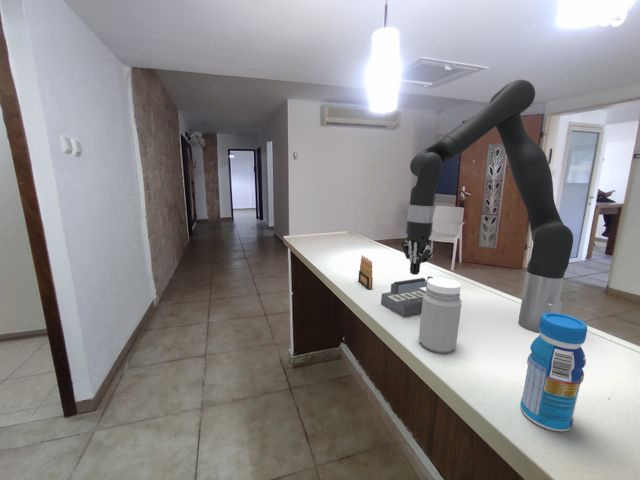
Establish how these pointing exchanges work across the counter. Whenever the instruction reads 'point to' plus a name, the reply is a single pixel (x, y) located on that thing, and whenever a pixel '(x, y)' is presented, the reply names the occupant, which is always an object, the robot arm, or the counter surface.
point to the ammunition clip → (365, 273)
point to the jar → (440, 315)
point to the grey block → (404, 301)
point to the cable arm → (408, 285)
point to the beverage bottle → (554, 372)
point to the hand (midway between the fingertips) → (414, 273)
